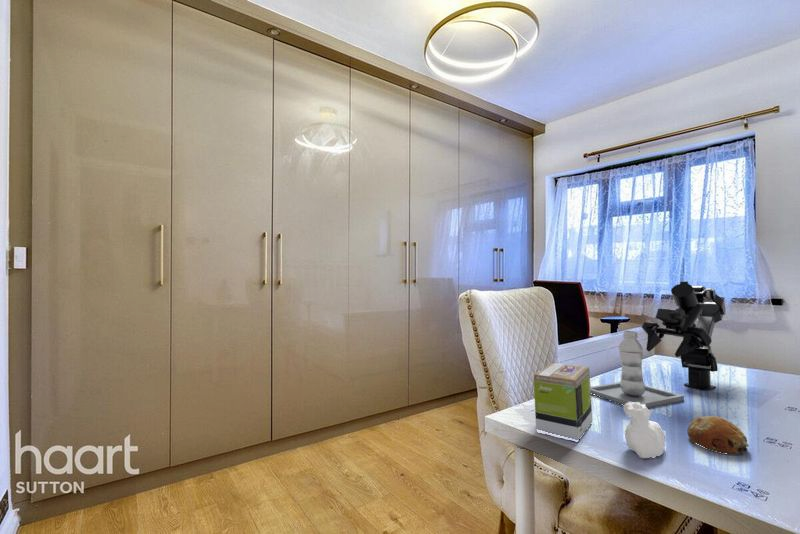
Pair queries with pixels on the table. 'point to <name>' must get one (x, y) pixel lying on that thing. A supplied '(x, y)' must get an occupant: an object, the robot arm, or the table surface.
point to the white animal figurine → (643, 431)
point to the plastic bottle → (631, 365)
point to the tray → (650, 397)
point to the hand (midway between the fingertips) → (661, 353)
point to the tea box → (563, 400)
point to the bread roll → (717, 435)
